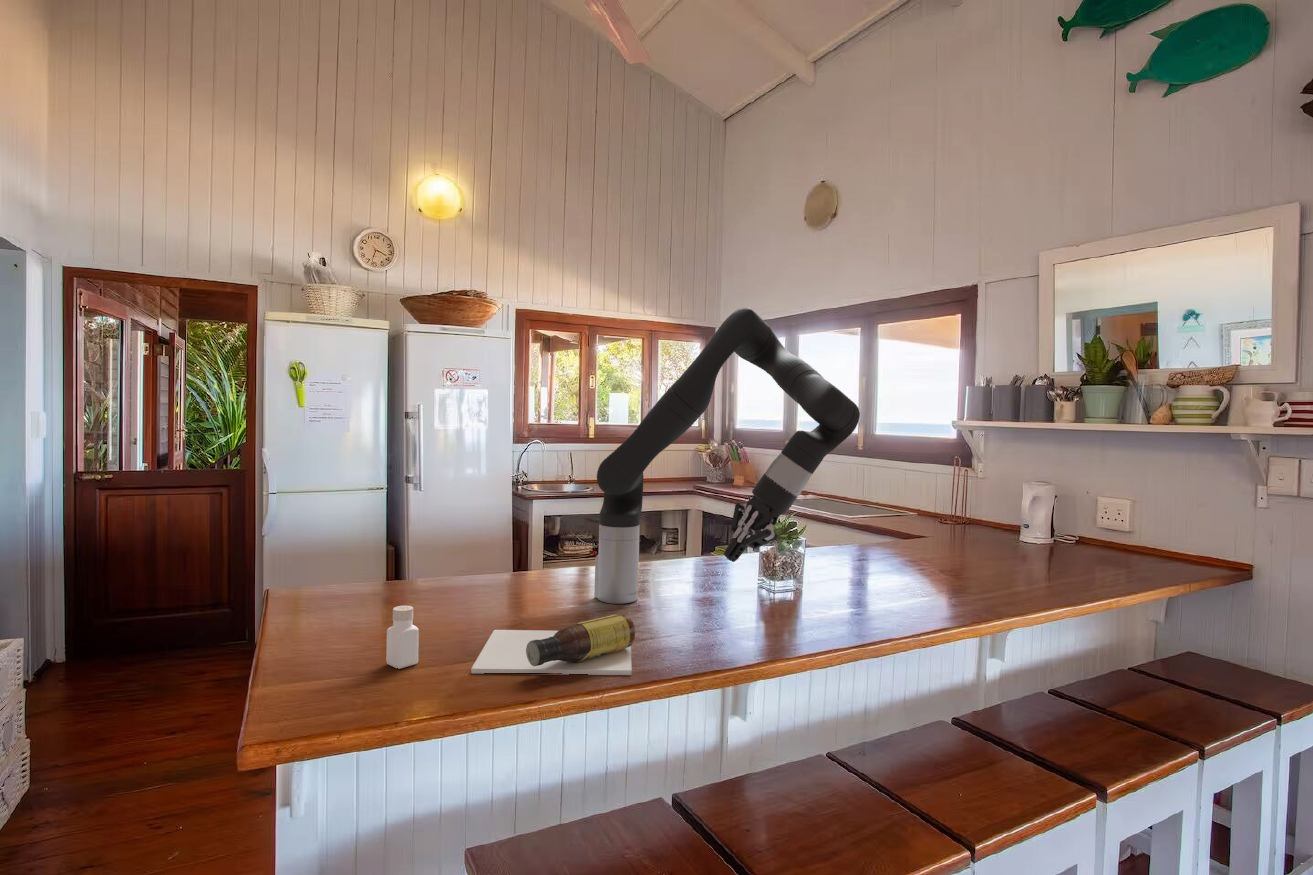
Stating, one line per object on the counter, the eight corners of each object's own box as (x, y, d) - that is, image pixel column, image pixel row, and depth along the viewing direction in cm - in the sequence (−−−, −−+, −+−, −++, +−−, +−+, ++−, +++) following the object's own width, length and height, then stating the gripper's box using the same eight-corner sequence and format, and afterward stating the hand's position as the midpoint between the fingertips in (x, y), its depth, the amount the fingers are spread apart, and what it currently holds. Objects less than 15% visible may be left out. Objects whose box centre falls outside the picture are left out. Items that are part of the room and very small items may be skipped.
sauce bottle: (614, 640, 129) (518, 664, 116) (617, 607, 128) (521, 627, 116) (637, 653, 124) (539, 679, 111) (640, 619, 124) (542, 641, 111)
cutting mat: (471, 673, 114) (471, 668, 114) (494, 633, 134) (494, 629, 134) (631, 675, 116) (631, 670, 116) (630, 635, 136) (630, 631, 135)
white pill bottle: (406, 658, 120) (407, 603, 120) (419, 664, 118) (420, 608, 117) (384, 664, 117) (385, 608, 117) (397, 670, 115) (398, 612, 114)
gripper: (814, 507, 127) (759, 584, 129) (777, 478, 139) (726, 549, 140) (787, 489, 124) (730, 568, 125) (751, 461, 135) (699, 534, 137)
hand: (728, 558), depth 133 cm, fingers closed
